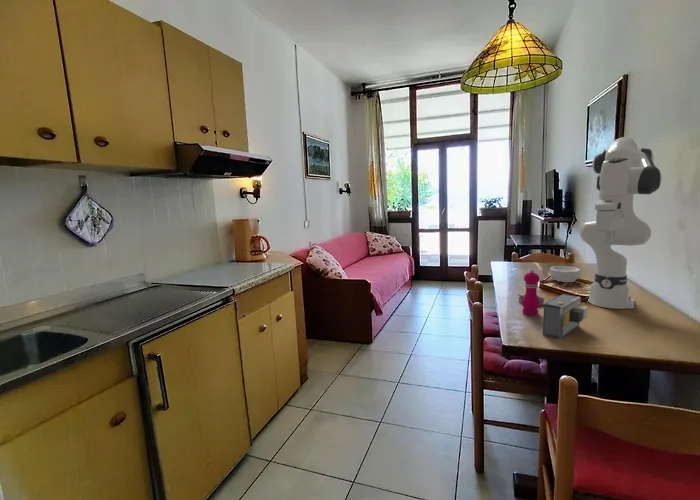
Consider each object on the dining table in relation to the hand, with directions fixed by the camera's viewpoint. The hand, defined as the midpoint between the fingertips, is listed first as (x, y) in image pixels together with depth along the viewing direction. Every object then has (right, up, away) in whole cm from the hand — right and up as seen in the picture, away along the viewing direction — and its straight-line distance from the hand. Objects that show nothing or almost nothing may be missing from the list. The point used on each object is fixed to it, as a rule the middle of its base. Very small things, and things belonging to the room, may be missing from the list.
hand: (610, 242), depth 131 cm
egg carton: (-8, -29, +42) cm, 52 cm away
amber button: (-17, -30, +2) cm, 34 cm away
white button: (-7, -29, +7) cm, 30 cm away
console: (-14, -34, +7) cm, 37 cm away
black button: (-11, -29, +3) cm, 32 cm away
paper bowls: (+31, -22, +79) cm, 88 cm away
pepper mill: (-15, -31, +28) cm, 44 cm away
